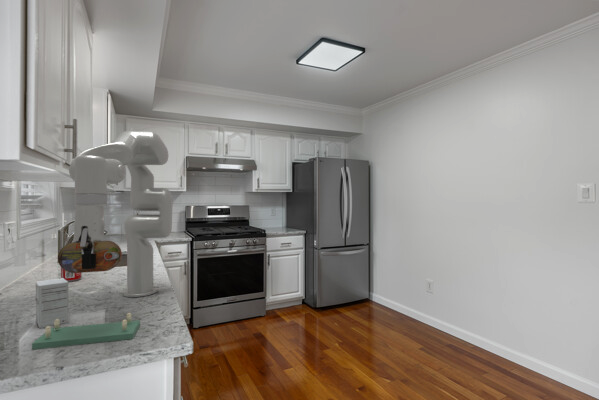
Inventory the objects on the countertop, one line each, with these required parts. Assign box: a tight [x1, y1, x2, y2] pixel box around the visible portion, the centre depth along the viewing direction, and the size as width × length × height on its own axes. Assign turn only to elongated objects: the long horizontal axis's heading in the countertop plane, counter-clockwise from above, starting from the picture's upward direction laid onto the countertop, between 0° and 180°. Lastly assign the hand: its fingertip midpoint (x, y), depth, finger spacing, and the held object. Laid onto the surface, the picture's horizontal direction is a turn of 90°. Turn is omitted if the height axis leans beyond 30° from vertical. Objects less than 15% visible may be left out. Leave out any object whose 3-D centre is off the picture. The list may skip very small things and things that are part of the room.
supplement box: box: [35, 277, 69, 329], centre depth 101 cm, size 7×7×13 cm
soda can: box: [60, 267, 82, 283], centre depth 153 cm, size 8×8×15 cm
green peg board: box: [31, 312, 141, 350], centre depth 90 cm, size 10×23×5 cm, turn 106°
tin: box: [57, 240, 123, 274], centre depth 91 cm, size 15×3×8 cm, turn 106°
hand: (91, 266), depth 91 cm, fingers closed on tin, 2 cm apart
